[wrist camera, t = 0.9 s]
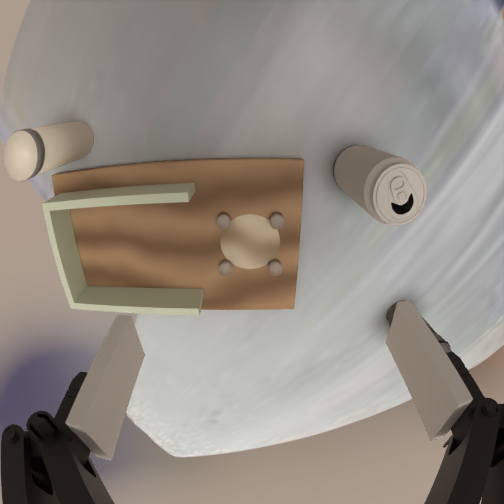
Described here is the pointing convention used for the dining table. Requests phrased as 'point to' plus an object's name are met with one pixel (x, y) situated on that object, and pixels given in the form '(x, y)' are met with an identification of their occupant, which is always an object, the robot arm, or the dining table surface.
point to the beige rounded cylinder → (46, 148)
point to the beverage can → (381, 184)
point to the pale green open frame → (114, 297)
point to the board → (196, 230)
